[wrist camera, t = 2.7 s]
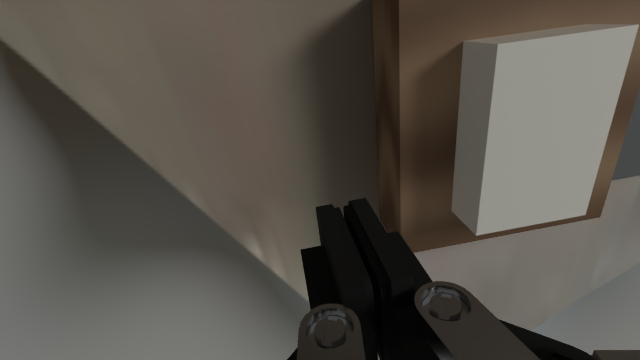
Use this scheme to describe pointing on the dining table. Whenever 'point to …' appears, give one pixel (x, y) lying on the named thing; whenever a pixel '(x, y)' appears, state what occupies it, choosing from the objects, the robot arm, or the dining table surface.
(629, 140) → the mat
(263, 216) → the dining table surface
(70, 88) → the dining table surface
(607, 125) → the tile
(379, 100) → the panel
